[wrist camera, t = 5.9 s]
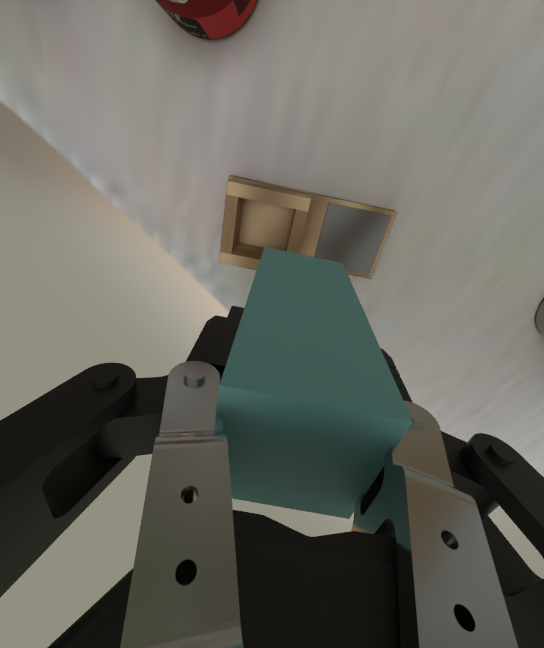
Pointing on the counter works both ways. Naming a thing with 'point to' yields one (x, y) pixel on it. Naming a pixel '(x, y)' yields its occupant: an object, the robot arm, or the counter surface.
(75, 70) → the counter surface
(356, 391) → the teal block
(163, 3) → the canned food
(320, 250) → the holder
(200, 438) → the robot arm
